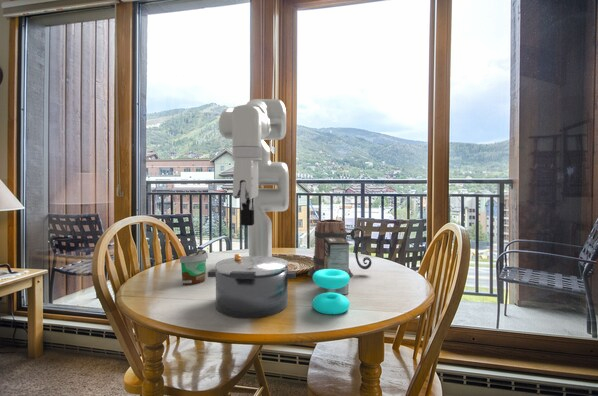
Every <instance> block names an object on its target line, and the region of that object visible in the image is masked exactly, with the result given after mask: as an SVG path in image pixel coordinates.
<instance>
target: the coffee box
mask: <svg viewBox="0 0 598 396" xmlns="http://www.w3.org/2000/svg"><path fill="white" fill-rule="evenodd" d="M349 261H350V242H349V241H347V239H346V240H345V239H343V238H324V269H337V270H342V271H344V272H346V273H347V274H348V275H349V269H350V267H349V266H350V263H349ZM325 289H326V292H327V293H328V292H332V293H338V294H341V295H349V283H348V284H347V285H346V286H344V287H342V288H338V289H327V288H325Z"/></svg>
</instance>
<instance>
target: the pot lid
mask: <svg viewBox="0 0 598 396" xmlns="http://www.w3.org/2000/svg"><path fill="white" fill-rule="evenodd" d="M288 267H289V262H288V260H286V259H283V258H280V257H275V256H272V257H268V256H249V255H248V256H247V255H246V256H242V254H240V253H236V254H234V257H230V258H229V257H228V258H225V259H222V260H219V261H217V262H216V263H215V269H216V271H217V272H219V273H222V274H226V275H230V277H244V278H254V277H255V276H262V275H270V274H275V273H279V272H282V271H285V270H286V269H287V268H288ZM288 269H289V268H288Z"/></svg>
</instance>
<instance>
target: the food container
mask: <svg viewBox="0 0 598 396" xmlns="http://www.w3.org/2000/svg"><path fill="white" fill-rule="evenodd" d="M207 259H209V256H208V252H207V250H205V249H199V248H198V249H197V251H196V252H194V253H189V254H188V255H184V256H183V255H181V256H180V257H179V263H180V266H181V267H180V268H181V279H182V280H181V281H182V286H194V285H199V284H202V283H204V282H205V281H206V269H207Z"/></svg>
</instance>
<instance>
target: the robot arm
mask: <svg viewBox="0 0 598 396" xmlns="http://www.w3.org/2000/svg"><path fill="white" fill-rule="evenodd" d="M218 130H219V133H220V135H221V136H222V137H223V138H224V139H226V140H227V139H228V140H231V141H232V145H231V146H232V161H234V164H233V173H232V175H233V176H232V197H233V198H234V199H240V201H239V203H240V225H241V226H248V256H268V257H273V223H272V219H271V217H270V216H269V215H267V212H285V211H287V210H288V209H289V206H290V176H289V174H290V172H289V168H288V165H287V163H286V162H283V161H271V148H270V146H269V145H268V144H267V143H266V140H267V141H268V140H269V141H281V140H283V139H284V138H285V137H286V135H287V110H286V106H285V104H284V102H283V101H282V100H281V99H277V98H276V99H275V98H264V99H263V98H255V99H254V98H253V99H251V100H248V102H247V103H246V104H243V105H237V106H233V107H228V108H225V109H224V110H223V111H222V112H221V114H220V116H219V119H218ZM260 186H276V187H277V188H267V187H265V188H261V187H260ZM259 187H260V188H259Z"/></svg>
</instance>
